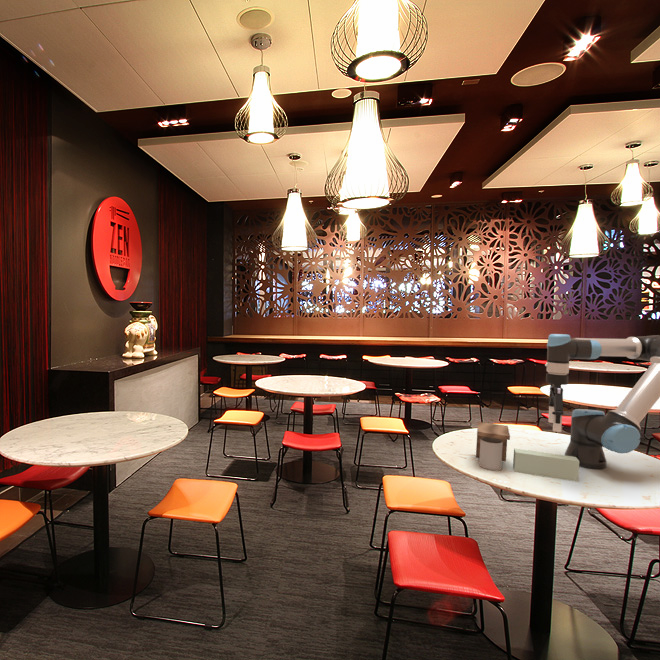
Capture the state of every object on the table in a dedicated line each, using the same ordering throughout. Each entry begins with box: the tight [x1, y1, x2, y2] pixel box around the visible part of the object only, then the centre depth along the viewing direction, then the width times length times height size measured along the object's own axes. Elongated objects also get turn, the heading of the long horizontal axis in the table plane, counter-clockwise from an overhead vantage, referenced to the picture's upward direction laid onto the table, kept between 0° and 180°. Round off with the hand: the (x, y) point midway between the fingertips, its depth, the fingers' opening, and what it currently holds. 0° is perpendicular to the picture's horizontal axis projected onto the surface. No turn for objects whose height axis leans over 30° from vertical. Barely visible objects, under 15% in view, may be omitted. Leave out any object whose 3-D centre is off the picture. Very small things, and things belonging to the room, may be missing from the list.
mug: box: [478, 437, 503, 471], centre depth 158 cm, size 12×8×11 cm
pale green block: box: [512, 448, 580, 482], centre depth 151 cm, size 22×5×8 cm, turn 70°
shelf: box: [475, 421, 511, 463], centre depth 159 cm, size 12×16×15 cm
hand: (554, 427), depth 150 cm, fingers open, 13 cm apart
